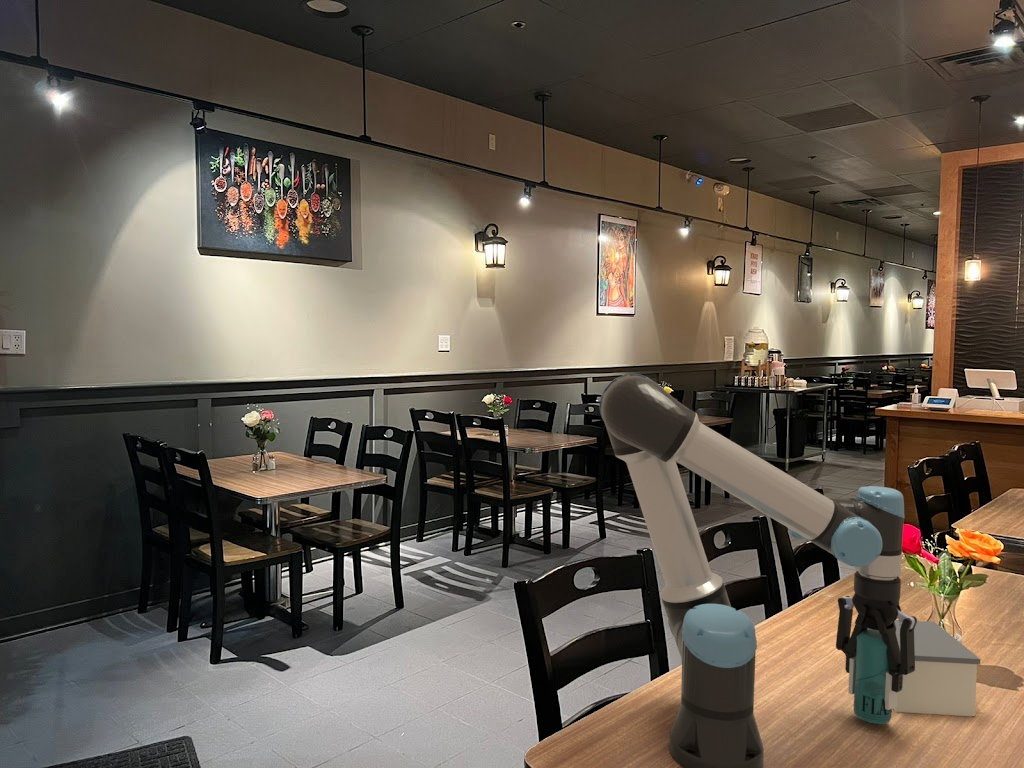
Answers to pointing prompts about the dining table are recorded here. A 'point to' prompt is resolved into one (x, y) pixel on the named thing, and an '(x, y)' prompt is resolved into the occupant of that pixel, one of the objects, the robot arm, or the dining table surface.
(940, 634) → the lid
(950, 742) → the dining table surface
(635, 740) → the dining table surface
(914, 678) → the box
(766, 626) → the dining table surface
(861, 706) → the beverage bottle
